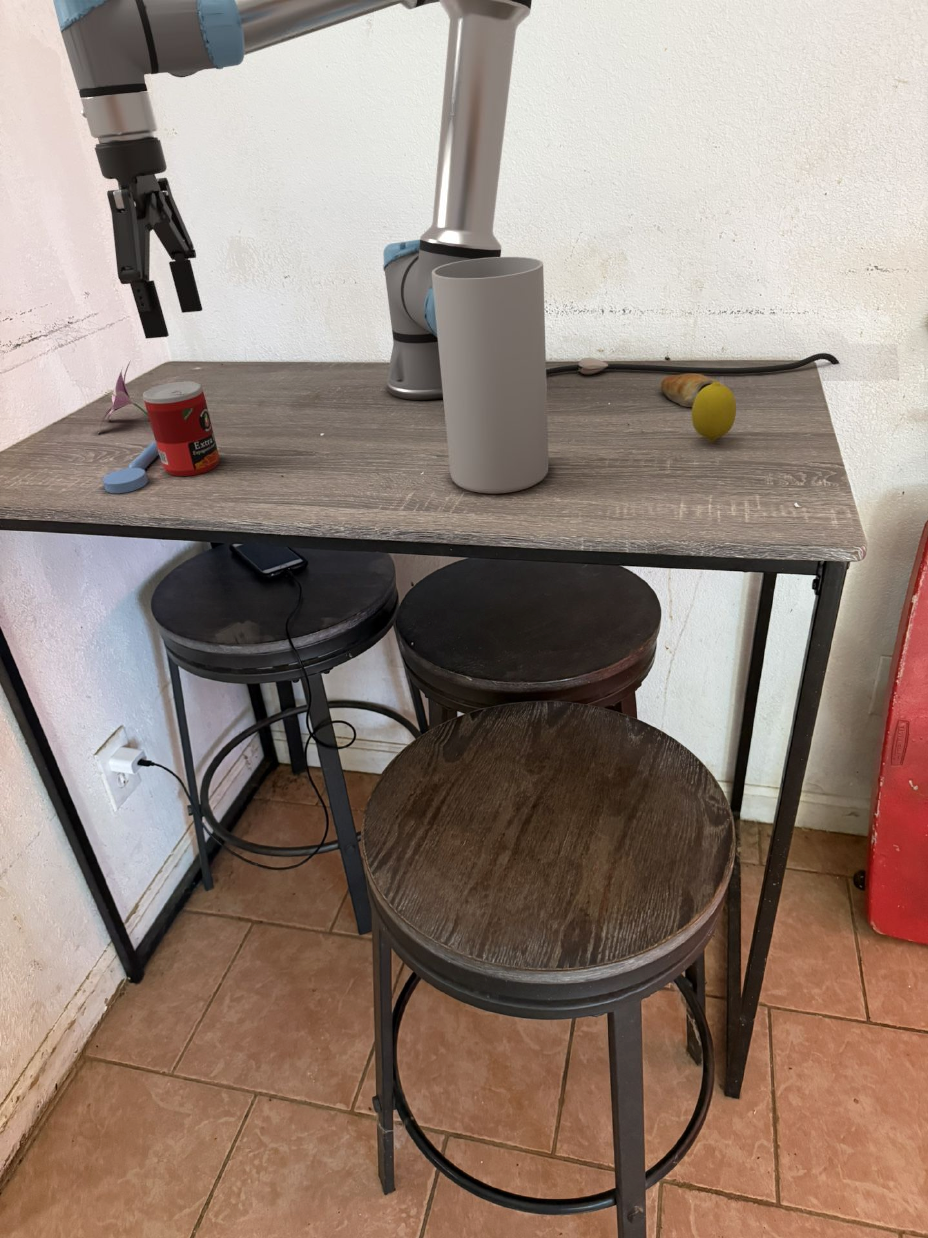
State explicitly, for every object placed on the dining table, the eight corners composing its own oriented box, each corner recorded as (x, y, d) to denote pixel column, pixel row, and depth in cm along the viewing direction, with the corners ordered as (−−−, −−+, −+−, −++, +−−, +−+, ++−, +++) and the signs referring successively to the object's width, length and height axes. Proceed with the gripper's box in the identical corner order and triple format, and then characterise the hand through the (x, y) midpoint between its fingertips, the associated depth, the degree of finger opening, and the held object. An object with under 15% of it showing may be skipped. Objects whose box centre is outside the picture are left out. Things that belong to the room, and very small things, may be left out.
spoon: (156, 437, 131) (153, 426, 130) (191, 436, 130) (188, 424, 129) (98, 494, 113) (94, 482, 112) (138, 492, 112) (134, 479, 111)
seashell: (578, 370, 144) (578, 355, 142) (608, 368, 143) (608, 353, 142) (578, 377, 140) (578, 362, 139) (608, 376, 139) (608, 361, 138)
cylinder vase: (518, 502, 100) (508, 280, 87) (432, 486, 106) (409, 277, 93) (565, 464, 109) (562, 257, 96) (482, 452, 115) (469, 255, 102)
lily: (136, 413, 146) (92, 370, 140) (182, 388, 140) (139, 342, 134) (108, 458, 138) (60, 415, 132) (156, 434, 133) (108, 387, 127)
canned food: (206, 477, 115) (185, 398, 109) (153, 477, 117) (130, 398, 111) (230, 456, 121) (212, 380, 115) (179, 456, 123) (159, 381, 117)
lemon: (734, 435, 113) (740, 375, 109) (731, 450, 109) (737, 389, 104) (692, 433, 115) (696, 374, 111) (687, 448, 110) (691, 387, 106)
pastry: (648, 394, 130) (649, 369, 128) (682, 385, 132) (684, 361, 130) (689, 409, 123) (691, 383, 121) (725, 400, 125) (727, 374, 123)
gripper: (135, 134, 110) (179, 304, 121) (46, 148, 89) (110, 351, 100) (190, 128, 109) (230, 299, 120) (114, 141, 88) (170, 346, 100)
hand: (175, 323), depth 110 cm, fingers open, 13 cm apart
